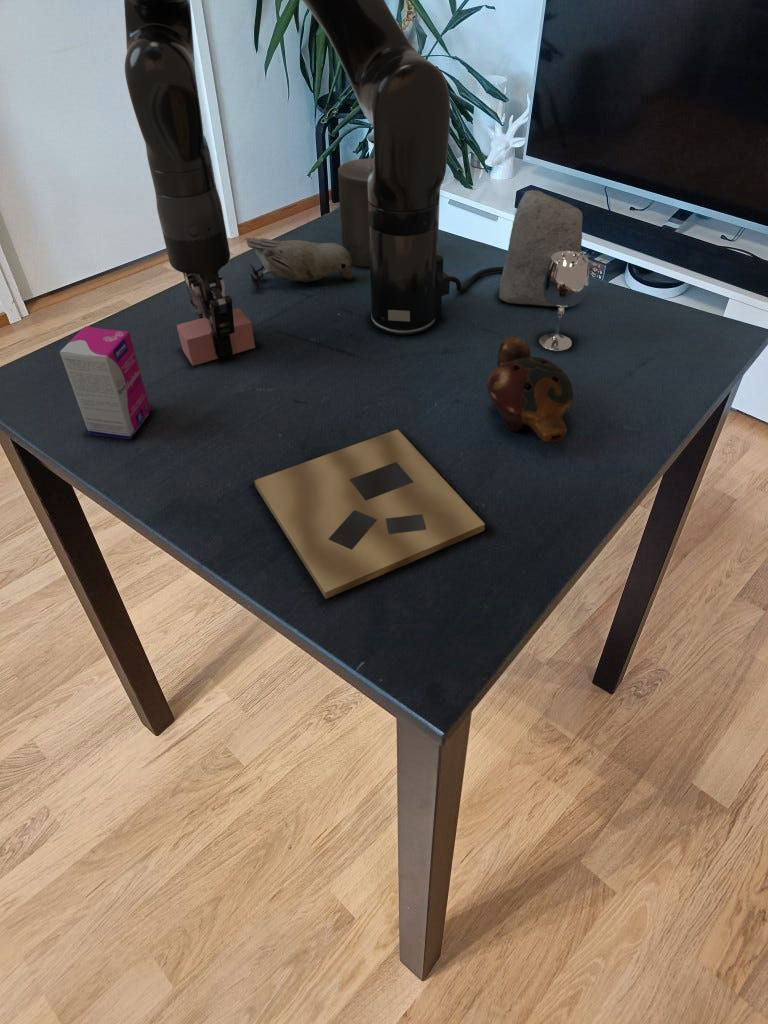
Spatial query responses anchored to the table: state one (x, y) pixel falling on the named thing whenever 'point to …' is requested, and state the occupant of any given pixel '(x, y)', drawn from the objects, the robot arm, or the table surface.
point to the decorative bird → (300, 259)
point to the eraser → (201, 343)
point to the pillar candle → (355, 209)
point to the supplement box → (106, 381)
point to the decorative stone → (537, 245)
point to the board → (366, 511)
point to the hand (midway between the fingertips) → (218, 347)
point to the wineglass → (564, 291)
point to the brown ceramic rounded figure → (530, 391)
